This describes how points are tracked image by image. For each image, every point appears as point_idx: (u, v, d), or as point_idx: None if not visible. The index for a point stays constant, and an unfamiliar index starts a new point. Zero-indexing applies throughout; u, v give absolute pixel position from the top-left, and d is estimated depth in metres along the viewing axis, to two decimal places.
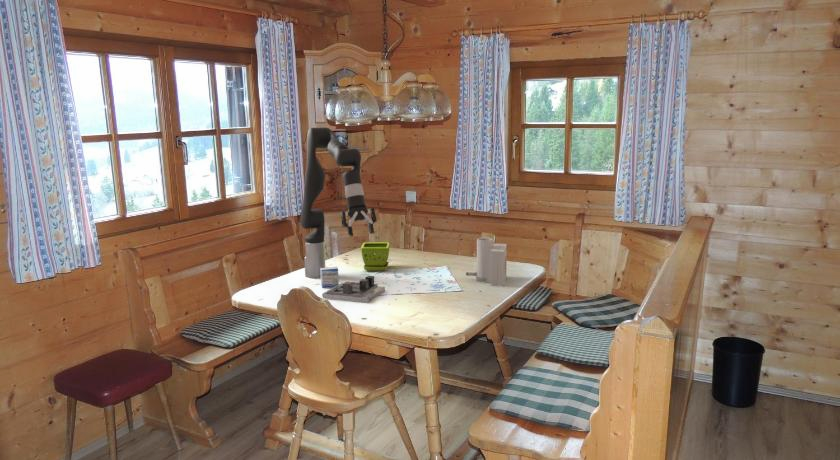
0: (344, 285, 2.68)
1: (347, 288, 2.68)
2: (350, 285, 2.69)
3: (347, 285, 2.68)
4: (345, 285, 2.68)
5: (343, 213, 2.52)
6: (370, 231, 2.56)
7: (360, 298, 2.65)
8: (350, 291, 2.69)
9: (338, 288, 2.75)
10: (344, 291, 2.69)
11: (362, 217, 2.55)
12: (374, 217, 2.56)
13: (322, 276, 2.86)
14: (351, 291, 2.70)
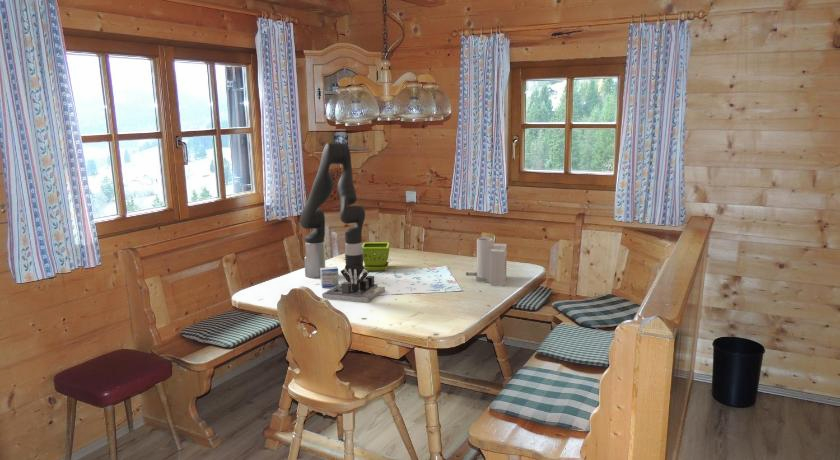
0: (343, 285, 2.68)
1: (346, 288, 2.68)
2: (349, 285, 2.69)
3: (346, 285, 2.68)
4: (344, 285, 2.68)
5: (341, 272, 2.68)
6: None
7: (360, 298, 2.65)
8: (349, 291, 2.69)
9: (338, 288, 2.75)
10: (343, 291, 2.69)
11: (353, 273, 2.66)
12: (360, 279, 2.66)
13: (322, 276, 2.86)
14: (350, 291, 2.70)
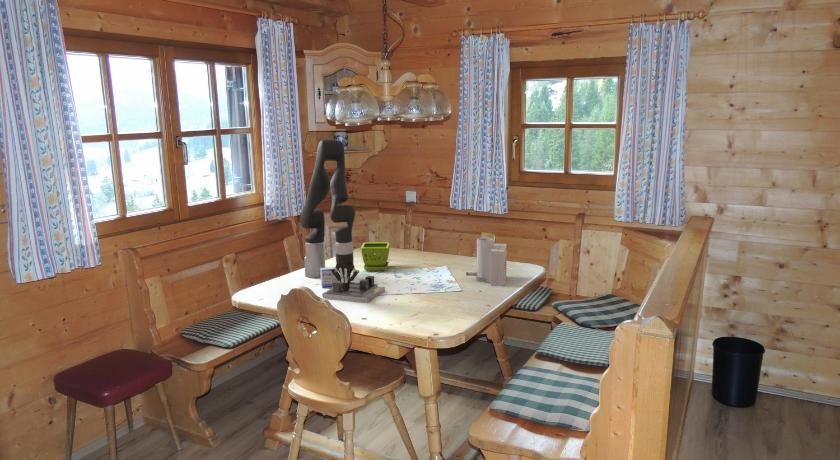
0: (334, 284, 2.70)
1: (337, 287, 2.70)
2: (340, 284, 2.70)
3: (337, 284, 2.69)
4: (335, 284, 2.70)
5: (332, 271, 2.70)
6: None
7: (360, 298, 2.65)
8: (340, 290, 2.71)
9: None
10: (334, 290, 2.71)
11: (343, 272, 2.68)
12: (351, 278, 2.67)
13: (322, 276, 2.86)
14: (341, 290, 2.72)
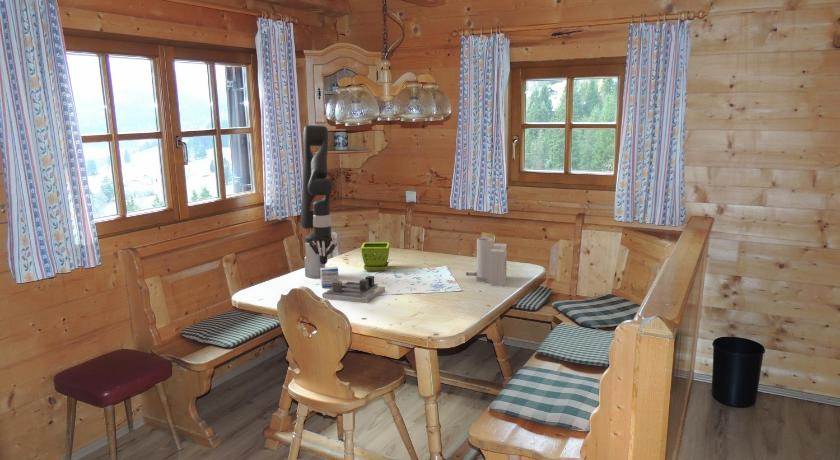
0: (334, 284, 2.70)
1: (336, 287, 2.70)
2: (340, 284, 2.70)
3: (336, 284, 2.69)
4: (335, 284, 2.70)
5: (310, 244, 2.71)
6: None
7: (360, 298, 2.65)
8: (340, 290, 2.71)
9: None
10: (334, 290, 2.71)
11: (321, 245, 2.69)
12: (328, 251, 2.68)
13: (322, 276, 2.86)
14: (341, 290, 2.72)
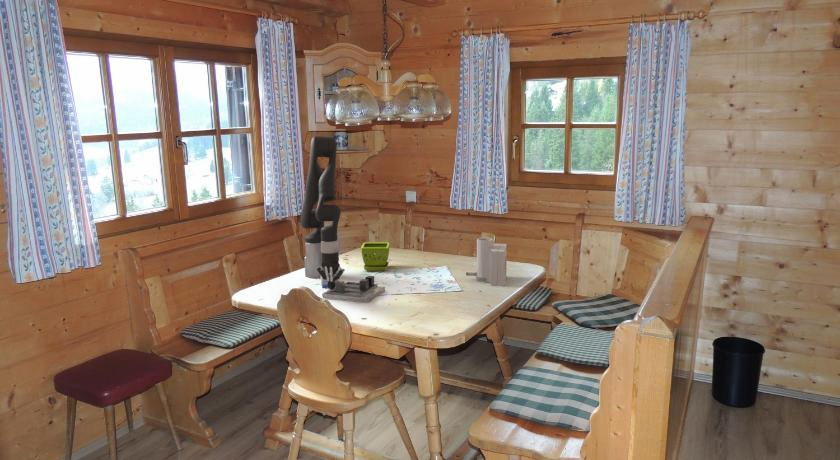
0: (336, 284, 2.70)
1: (339, 287, 2.69)
2: (342, 284, 2.70)
3: (339, 284, 2.69)
4: (337, 284, 2.69)
5: (318, 270, 2.72)
6: None
7: (360, 298, 2.65)
8: (342, 290, 2.70)
9: None
10: (336, 290, 2.70)
11: (329, 270, 2.70)
12: (336, 277, 2.69)
13: None
14: (343, 290, 2.71)
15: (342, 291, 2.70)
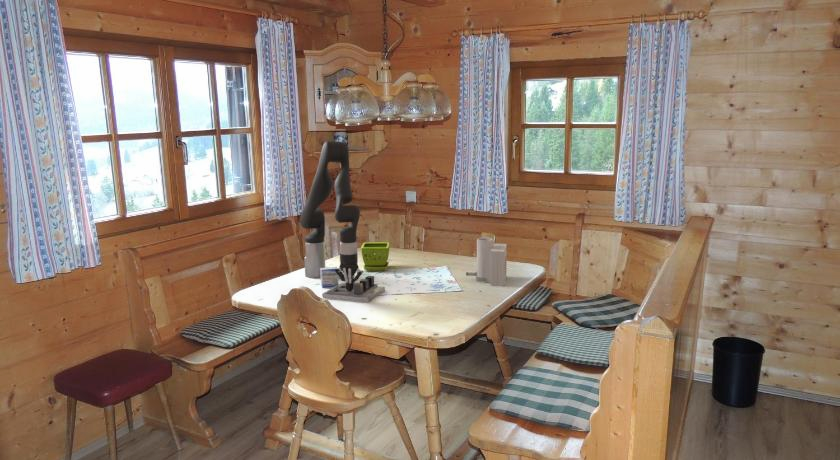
0: (355, 286, 2.67)
1: (358, 289, 2.66)
2: (361, 286, 2.67)
3: (358, 286, 2.66)
4: (356, 286, 2.66)
5: (336, 271, 2.68)
6: None
7: (360, 298, 2.65)
8: (361, 292, 2.67)
9: (338, 288, 2.75)
10: (355, 292, 2.67)
11: (347, 272, 2.67)
12: (355, 278, 2.66)
13: (322, 276, 2.86)
14: (362, 292, 2.68)
15: (360, 293, 2.67)
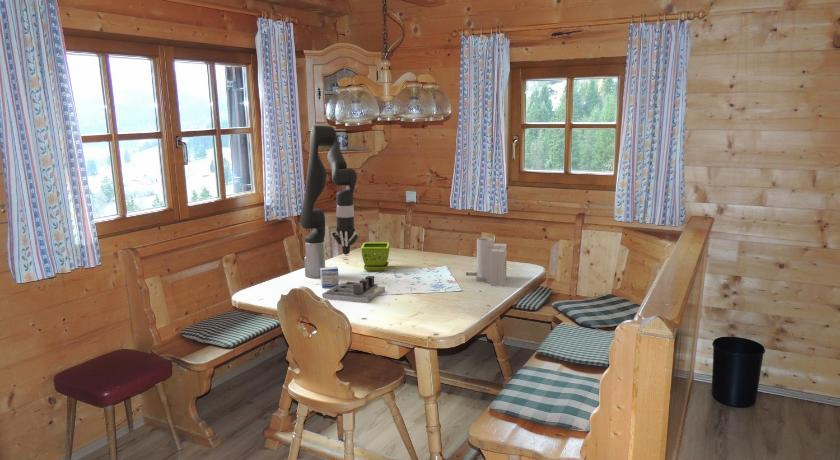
0: (355, 286, 2.67)
1: (358, 289, 2.66)
2: (361, 286, 2.67)
3: (358, 286, 2.66)
4: (356, 286, 2.66)
5: (333, 234, 2.71)
6: None
7: (360, 298, 2.65)
8: (361, 292, 2.67)
9: (338, 288, 2.75)
10: (355, 292, 2.67)
11: (344, 235, 2.69)
12: (351, 241, 2.68)
13: (322, 276, 2.86)
14: (362, 292, 2.68)
15: (360, 293, 2.67)
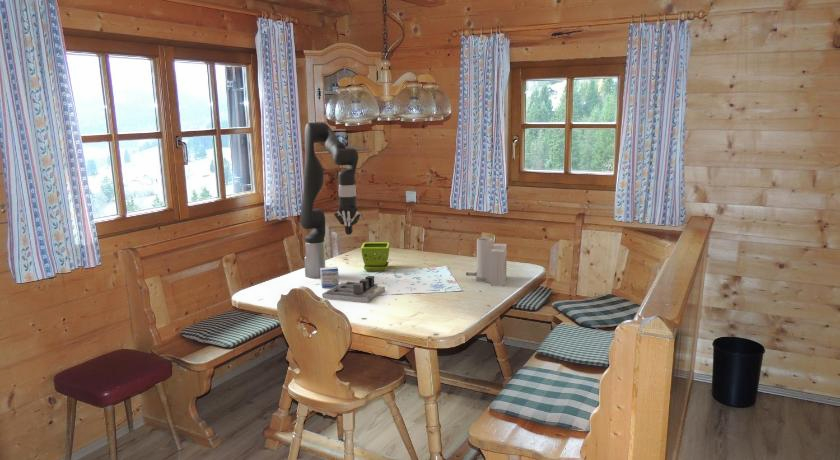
0: (355, 286, 2.67)
1: (358, 289, 2.66)
2: (361, 286, 2.67)
3: (358, 286, 2.66)
4: (356, 286, 2.66)
5: (335, 215, 2.72)
6: None
7: (360, 298, 2.65)
8: (361, 292, 2.67)
9: (338, 288, 2.75)
10: (355, 292, 2.67)
11: (346, 215, 2.70)
12: (354, 221, 2.69)
13: (322, 276, 2.86)
14: (362, 292, 2.68)
15: (360, 293, 2.67)
